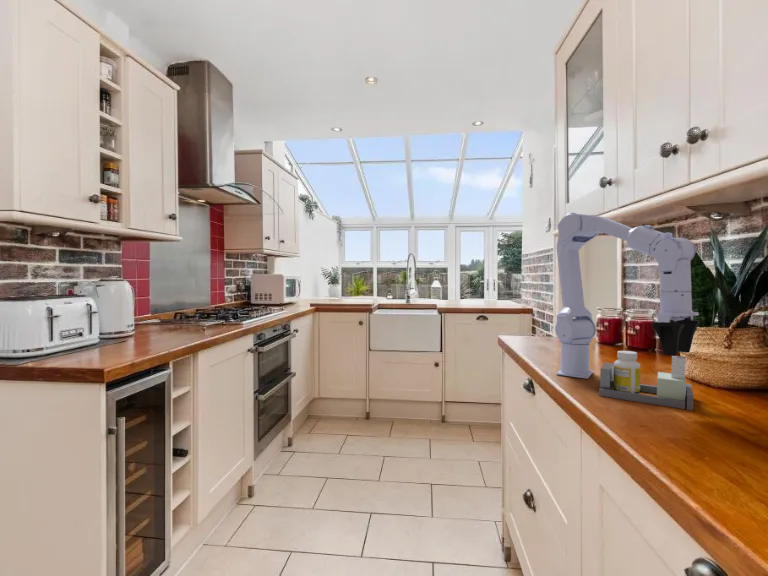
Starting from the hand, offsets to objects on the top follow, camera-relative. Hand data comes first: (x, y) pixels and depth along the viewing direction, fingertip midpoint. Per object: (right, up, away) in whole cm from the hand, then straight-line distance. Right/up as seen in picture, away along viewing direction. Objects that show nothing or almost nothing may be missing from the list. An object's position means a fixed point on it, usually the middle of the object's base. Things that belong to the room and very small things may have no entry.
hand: (677, 353), depth 92 cm
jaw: (-1, -10, 0) cm, 10 cm away
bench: (-5, -10, +3) cm, 12 cm away
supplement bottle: (-8, -10, +5) cm, 14 cm away
